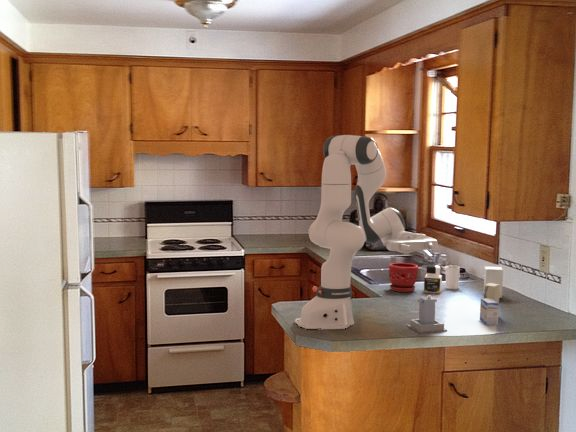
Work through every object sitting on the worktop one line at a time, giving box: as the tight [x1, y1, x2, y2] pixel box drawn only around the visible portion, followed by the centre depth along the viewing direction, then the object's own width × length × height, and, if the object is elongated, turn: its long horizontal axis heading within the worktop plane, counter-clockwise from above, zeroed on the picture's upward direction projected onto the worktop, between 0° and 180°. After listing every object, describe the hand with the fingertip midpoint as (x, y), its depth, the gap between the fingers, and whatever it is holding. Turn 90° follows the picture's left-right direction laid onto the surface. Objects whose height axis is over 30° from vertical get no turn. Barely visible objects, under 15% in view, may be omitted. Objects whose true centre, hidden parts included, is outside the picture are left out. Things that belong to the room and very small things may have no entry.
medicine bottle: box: [423, 264, 443, 294], centre depth 324 cm, size 7×7×12 cm
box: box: [483, 283, 500, 317], centre depth 278 cm, size 5×4×13 cm
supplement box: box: [483, 266, 504, 299], centre depth 315 cm, size 7×7×13 cm
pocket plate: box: [406, 318, 448, 334], centre depth 261 cm, size 11×10×3 cm
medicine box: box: [479, 297, 500, 326], centre depth 269 cm, size 8×4×9 cm, turn 4°
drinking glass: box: [445, 265, 461, 290], centre depth 331 cm, size 7×7×10 cm
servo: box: [417, 294, 438, 325], centre depth 261 cm, size 6×4×12 cm, turn 106°
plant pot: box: [388, 262, 419, 293], centre depth 326 cm, size 13×13×12 cm
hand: (420, 247), depth 272 cm, fingers open, 8 cm apart
